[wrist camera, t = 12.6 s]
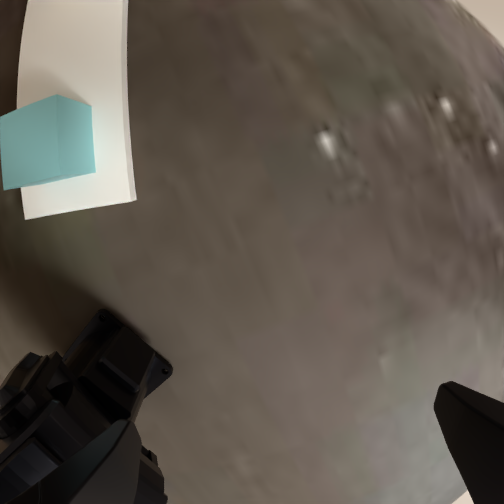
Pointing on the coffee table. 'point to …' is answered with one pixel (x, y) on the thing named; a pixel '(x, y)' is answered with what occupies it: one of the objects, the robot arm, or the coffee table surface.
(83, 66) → the white base with post
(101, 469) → the robot arm
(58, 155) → the teal block
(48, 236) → the coffee table surface
